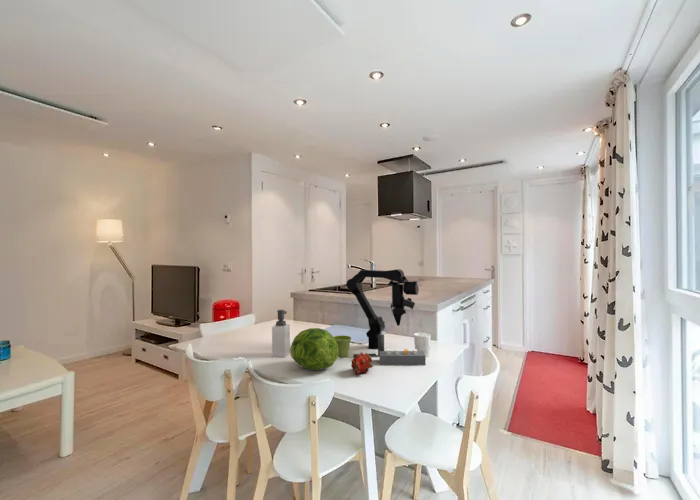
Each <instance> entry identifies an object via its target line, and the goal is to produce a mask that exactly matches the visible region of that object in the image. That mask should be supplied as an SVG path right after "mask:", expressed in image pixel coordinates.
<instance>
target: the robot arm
mask: <svg viewBox="0 0 700 500" xmlns="http://www.w3.org/2000/svg"><path fill="white" fill-rule="evenodd" d="M366 278H376V279H386V280H389V283H387V285H388V286H391V303H390V309H391V313H392V315H393V317H394V321H395V323H396V326H400V325H401V320H402V317H403V315H406V314H407V308H409V309H412V310H413V309H414V307H415V304H416V302H415V301H412V298H411V297H408V298H405V296H404V294H405V295H412V296H418V295H419V291H420V290H419V284H418V281H417V280H414V281H413V280H412V281H411V280H410V281H409V280H408V279H407V278H406V276H405V272H404V271H403V270H402V269H401V268H398V269H397V268H396V269H390V270H376V269H374V270H373V269H361V270H359V271H358V273H356V274H355V275H353V276H352V277H351V278H349V279H348V280H347V281H346V284H345V285H346V288H347V289H348V290H349V292H351V294H353V295H354V296H355V298H356V300H357V302H358V304H359V305H360V307H361V309H362V310H363V312H364V314H365V316H366V318H367V320H368V321H367V322H368V328H369V329H368V331H366V333H365V334H366V337H367V338H368V339H367V341H368V342H367V343H368V345H367V348H368V349H369V350H378V335H379V334H382V332H383V331H384V330H385V328H386V325H385V323H386V322H385V321H384V320H383V317H382V316H378V315H377V314H376V313H375V310H374V309H373V308H372V306H371V304H370V302H369V300H368V298H367V297H366V295H365V293H364V291H363V285H362V283H363V282H364V281H365V279H366ZM405 307H407V308H405Z"/></svg>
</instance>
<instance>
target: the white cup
mask: <svg viewBox="0 0 700 500" xmlns="http://www.w3.org/2000/svg"><path fill="white" fill-rule="evenodd" d="M413 339H414V340H413V341H414V344H413V345H414V349H417V351H423V352H424V354H425V358H428V357H430V355H431V352H430V350H431V333H428V332H415V333H413Z"/></svg>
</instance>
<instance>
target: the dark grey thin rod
mask: <svg viewBox="0 0 700 500" xmlns="http://www.w3.org/2000/svg"><path fill="white" fill-rule="evenodd" d="M352 355H353V356H352V357H353V358H354V357H355V355H360V353H355V354H354V353H353V354H352ZM368 355H369V356H371V357H376V356H377V353H376V352H375V353H368Z"/></svg>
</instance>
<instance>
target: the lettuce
mask: <svg viewBox="0 0 700 500" xmlns="http://www.w3.org/2000/svg"><path fill="white" fill-rule="evenodd" d="M334 337H335V336H333V335H332V334H331V333H330V331H328V330H326V329H323V328H319V327H312V328H311V327H310V328H308V329H307V328H306V329H304V330H302V331H300V332H299V333H298V334H296V335H295V336H294V338H293V340H292V343H291V344H290V354H289V355H290V357H291V359H292V360H293V361H294V362H295V363H296V364H297V365H299V367H301V368H305V369H306V370H309V371H319V370H322V369H329V368H330V367H332V366H333V365H334V364H335V362H336V361H337V359H338V358H339V357H338V345H337V342H336V340H335V339H334Z"/></svg>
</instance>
